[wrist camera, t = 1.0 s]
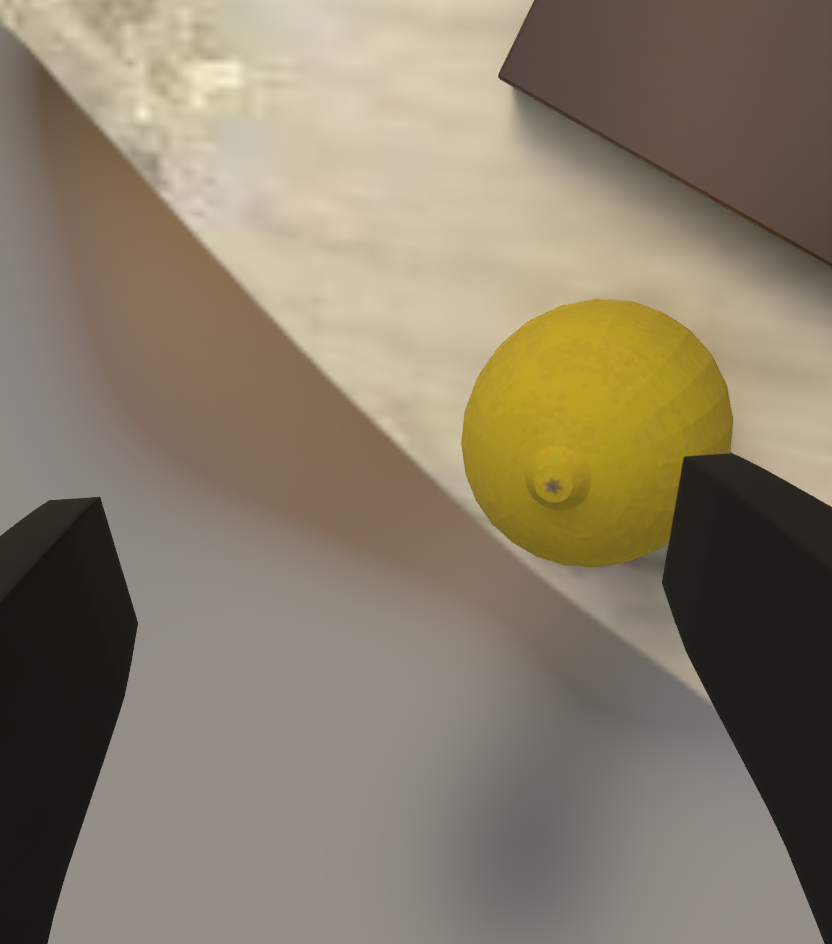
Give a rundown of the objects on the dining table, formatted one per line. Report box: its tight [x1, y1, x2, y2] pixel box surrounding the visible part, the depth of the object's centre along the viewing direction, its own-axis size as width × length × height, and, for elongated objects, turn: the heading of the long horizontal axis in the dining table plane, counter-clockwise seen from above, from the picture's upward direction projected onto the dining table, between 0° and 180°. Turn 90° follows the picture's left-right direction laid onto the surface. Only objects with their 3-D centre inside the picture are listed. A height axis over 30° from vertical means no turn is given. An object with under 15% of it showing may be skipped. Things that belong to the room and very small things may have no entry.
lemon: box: [461, 299, 733, 567], centre depth 17 cm, size 6×6×8 cm
